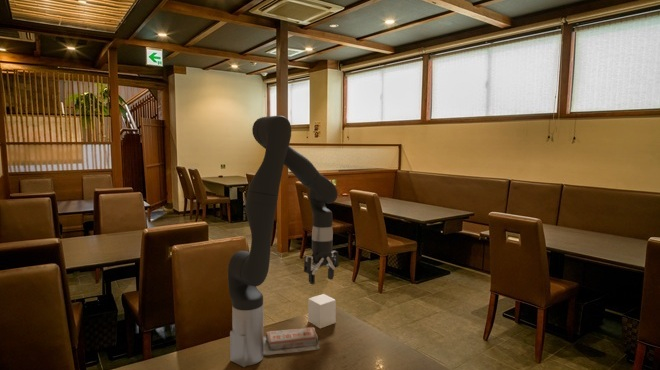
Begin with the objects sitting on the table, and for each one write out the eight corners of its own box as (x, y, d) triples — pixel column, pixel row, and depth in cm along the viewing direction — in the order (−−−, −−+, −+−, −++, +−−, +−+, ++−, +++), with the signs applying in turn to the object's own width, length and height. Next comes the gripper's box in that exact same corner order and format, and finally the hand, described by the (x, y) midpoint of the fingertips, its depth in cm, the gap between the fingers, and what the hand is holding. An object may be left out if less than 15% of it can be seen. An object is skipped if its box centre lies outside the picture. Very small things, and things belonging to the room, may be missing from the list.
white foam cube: (335, 322, 145) (335, 299, 144) (320, 328, 140) (320, 305, 139) (323, 315, 151) (323, 293, 150) (308, 321, 146) (308, 298, 145)
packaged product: (314, 322, 136) (320, 337, 126) (314, 336, 136) (319, 351, 127) (261, 327, 132) (263, 342, 122) (261, 341, 132) (263, 357, 123)
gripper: (330, 233, 150) (329, 274, 151) (300, 238, 141) (299, 282, 142) (343, 237, 144) (342, 280, 146) (312, 242, 135) (311, 288, 137)
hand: (321, 281), depth 144 cm, fingers open, 8 cm apart
